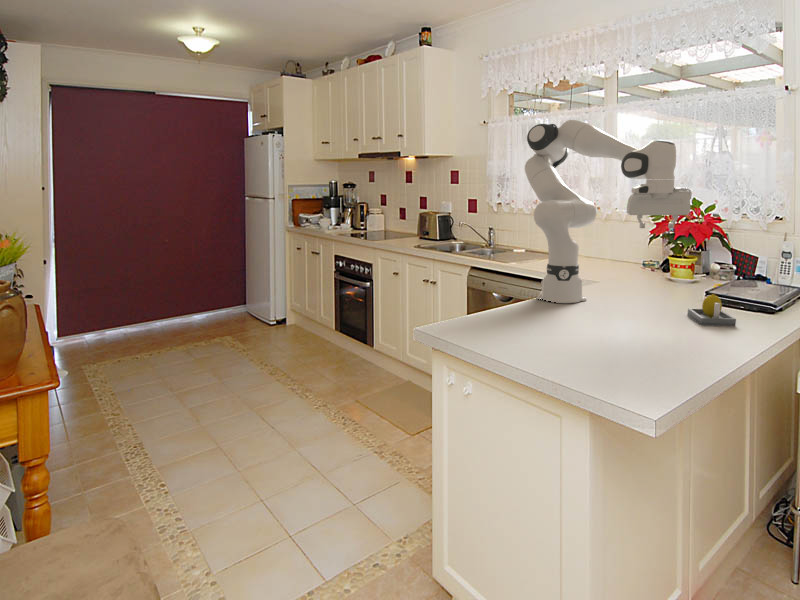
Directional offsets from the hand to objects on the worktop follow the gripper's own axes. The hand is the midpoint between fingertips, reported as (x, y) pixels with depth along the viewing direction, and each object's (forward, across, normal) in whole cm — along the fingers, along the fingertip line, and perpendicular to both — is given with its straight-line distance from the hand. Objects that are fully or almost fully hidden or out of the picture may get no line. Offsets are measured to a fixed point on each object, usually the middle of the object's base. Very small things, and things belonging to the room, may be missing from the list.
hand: (656, 228), depth 194 cm
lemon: (+28, -15, +16) cm, 36 cm away
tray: (+29, -15, +16) cm, 36 cm away
